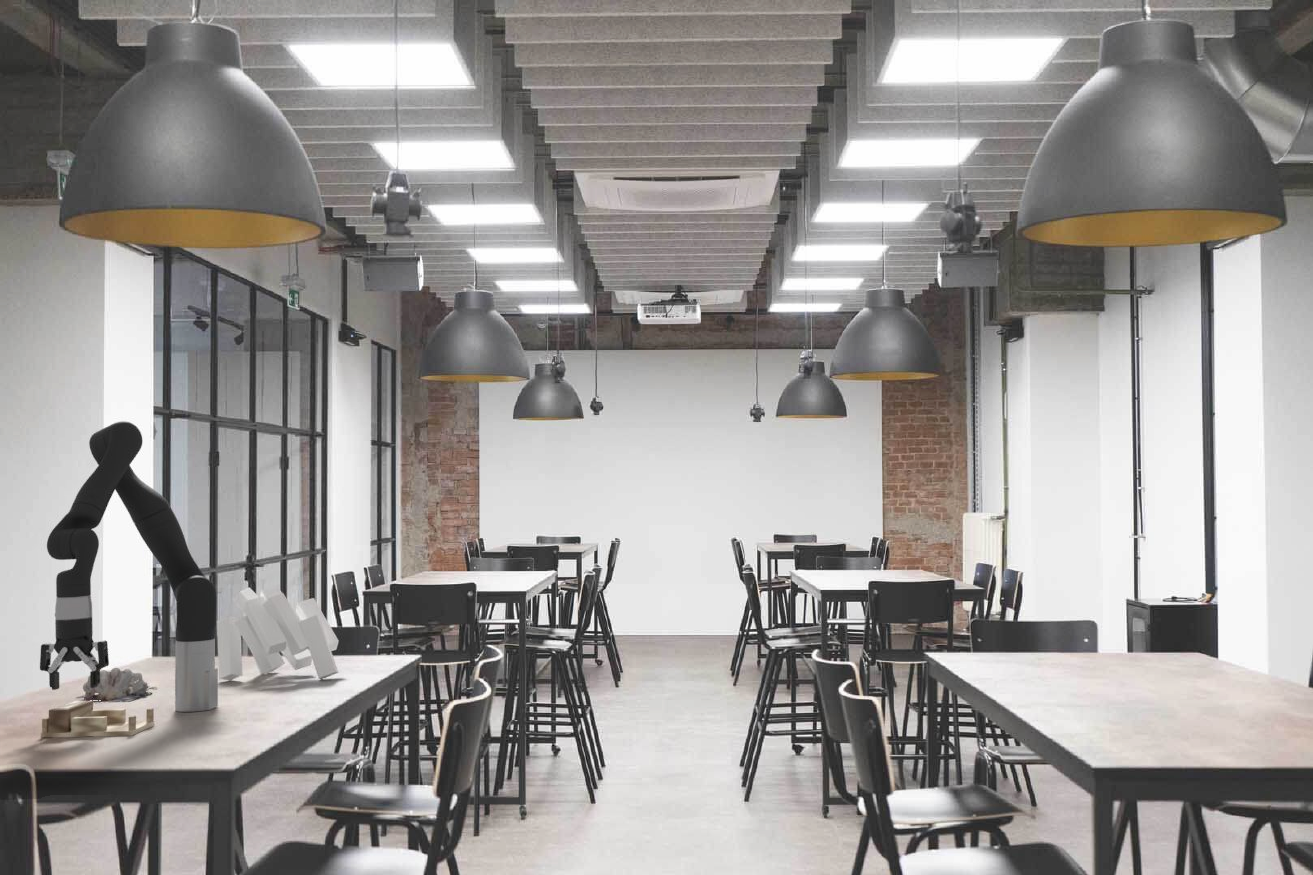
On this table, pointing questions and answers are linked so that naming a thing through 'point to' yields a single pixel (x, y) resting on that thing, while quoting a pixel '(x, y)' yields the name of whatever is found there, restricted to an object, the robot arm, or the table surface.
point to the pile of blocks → (275, 635)
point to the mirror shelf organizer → (103, 724)
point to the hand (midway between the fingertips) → (74, 688)
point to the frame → (68, 715)
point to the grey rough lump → (117, 687)
